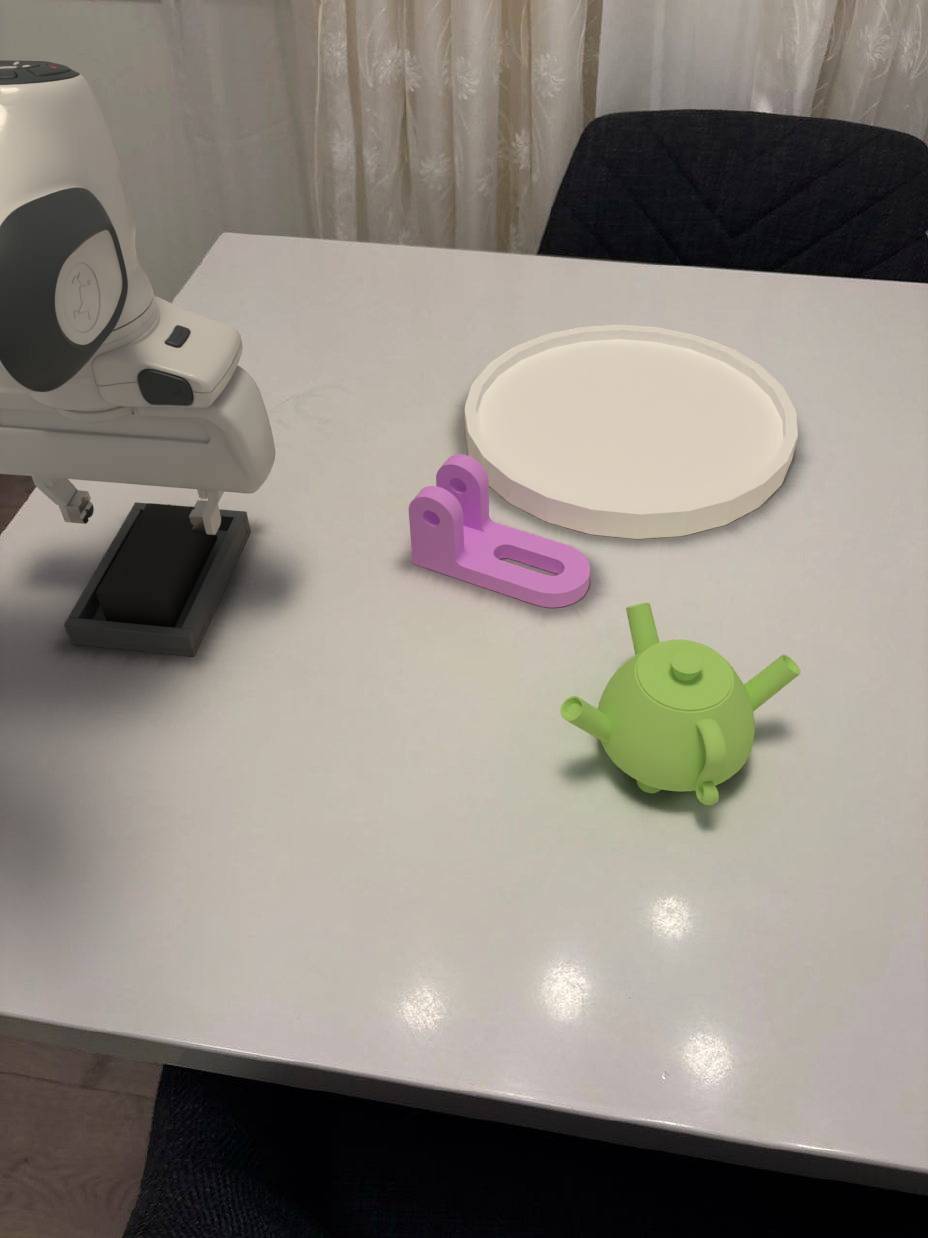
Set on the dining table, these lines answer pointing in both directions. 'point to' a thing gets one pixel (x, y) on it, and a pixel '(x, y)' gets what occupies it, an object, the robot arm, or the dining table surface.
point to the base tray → (190, 628)
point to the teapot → (677, 712)
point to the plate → (630, 431)
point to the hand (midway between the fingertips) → (143, 523)
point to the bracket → (488, 541)
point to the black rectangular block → (155, 568)
